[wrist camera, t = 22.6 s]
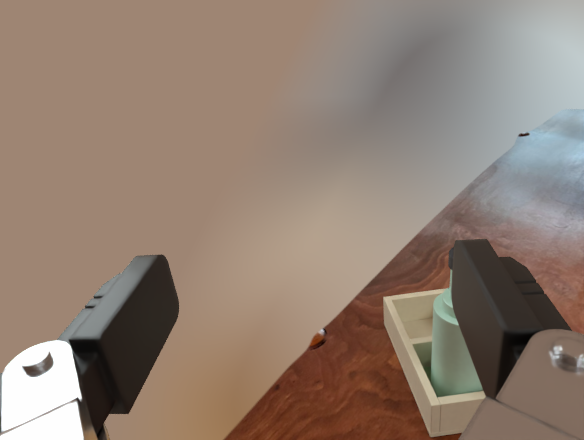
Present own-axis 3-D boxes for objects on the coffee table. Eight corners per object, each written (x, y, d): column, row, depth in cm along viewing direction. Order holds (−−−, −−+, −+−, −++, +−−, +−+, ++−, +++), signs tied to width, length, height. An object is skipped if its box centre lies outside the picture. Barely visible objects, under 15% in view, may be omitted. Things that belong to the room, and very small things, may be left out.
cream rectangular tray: (430, 437, 38) (431, 405, 37) (383, 323, 53) (383, 297, 51) (522, 424, 39) (527, 392, 37) (450, 314, 53) (452, 287, 51)
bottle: (442, 416, 39) (449, 275, 33) (423, 373, 44) (426, 242, 37) (498, 408, 39) (517, 266, 33) (473, 366, 44) (484, 234, 37)
